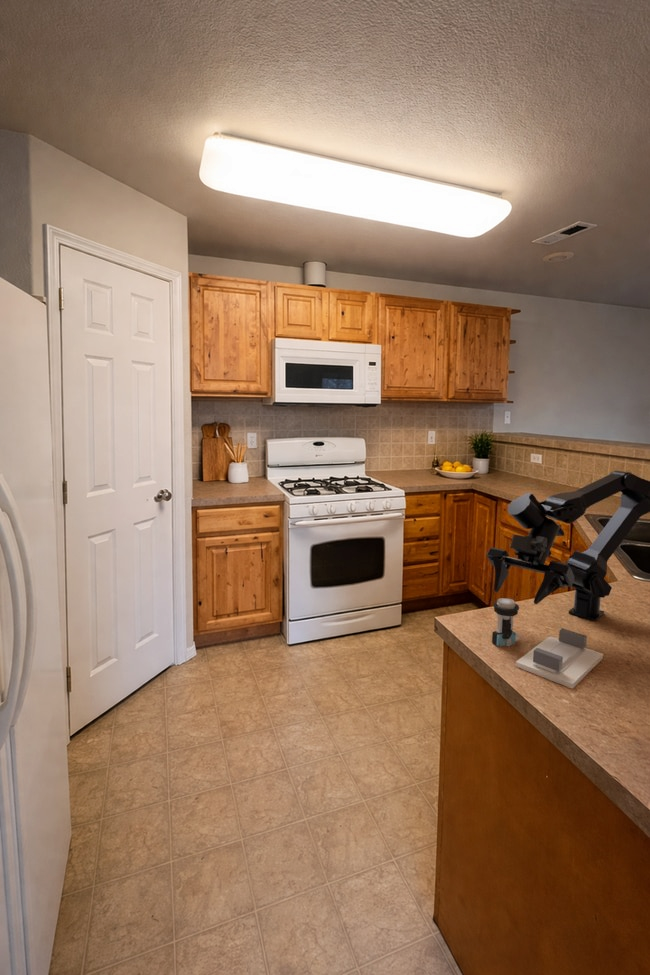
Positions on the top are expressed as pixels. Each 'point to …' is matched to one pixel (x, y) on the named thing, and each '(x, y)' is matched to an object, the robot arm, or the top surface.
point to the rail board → (561, 658)
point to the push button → (505, 622)
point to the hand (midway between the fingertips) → (514, 597)
